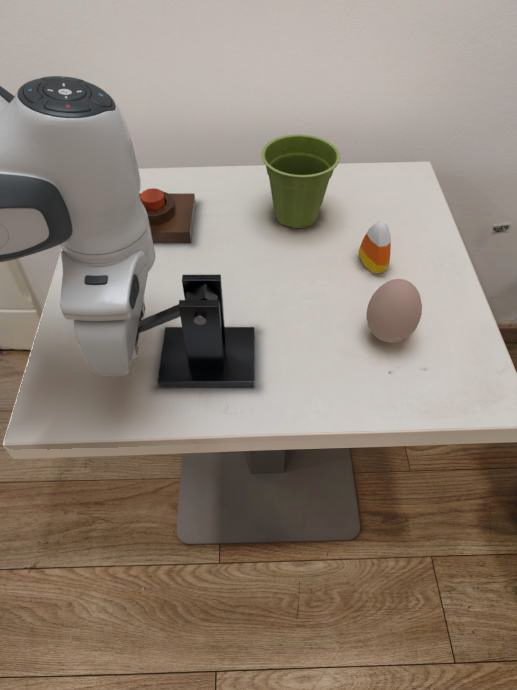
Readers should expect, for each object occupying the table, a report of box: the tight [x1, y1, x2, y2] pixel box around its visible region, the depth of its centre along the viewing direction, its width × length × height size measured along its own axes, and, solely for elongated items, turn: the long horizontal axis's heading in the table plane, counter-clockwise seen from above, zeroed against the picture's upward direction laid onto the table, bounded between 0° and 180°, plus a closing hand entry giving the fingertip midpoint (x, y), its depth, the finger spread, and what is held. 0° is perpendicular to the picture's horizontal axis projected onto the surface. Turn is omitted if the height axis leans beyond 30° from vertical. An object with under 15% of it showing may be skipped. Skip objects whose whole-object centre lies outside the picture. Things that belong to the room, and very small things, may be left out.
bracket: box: [157, 274, 255, 388], centre depth 63 cm, size 12×9×13 cm
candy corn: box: [358, 220, 392, 274], centre depth 76 cm, size 6×3×8 cm, turn 25°
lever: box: [136, 284, 218, 344], centre depth 61 cm, size 12×5×2 cm, turn 90°
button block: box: [140, 190, 197, 244], centre depth 83 cm, size 12×10×4 cm
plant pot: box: [261, 133, 341, 229], centre depth 82 cm, size 12×12×11 cm
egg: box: [366, 278, 423, 343], centre depth 66 cm, size 7×7×10 cm
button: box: [140, 187, 165, 211], centre depth 81 cm, size 4×4×2 cm
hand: (134, 334), depth 63 cm, fingers closed on lever, 5 cm apart
